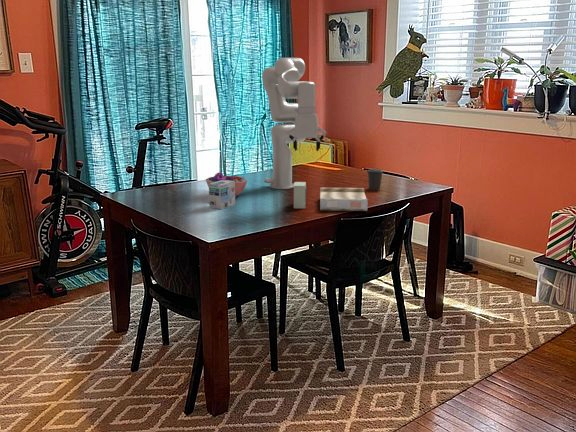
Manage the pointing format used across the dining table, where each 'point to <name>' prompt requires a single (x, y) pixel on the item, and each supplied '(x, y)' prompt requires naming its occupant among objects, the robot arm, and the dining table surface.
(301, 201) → the product box
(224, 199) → the light bulb box
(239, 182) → the cell model
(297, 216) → the dining table surface
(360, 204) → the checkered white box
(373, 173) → the coffee cup
